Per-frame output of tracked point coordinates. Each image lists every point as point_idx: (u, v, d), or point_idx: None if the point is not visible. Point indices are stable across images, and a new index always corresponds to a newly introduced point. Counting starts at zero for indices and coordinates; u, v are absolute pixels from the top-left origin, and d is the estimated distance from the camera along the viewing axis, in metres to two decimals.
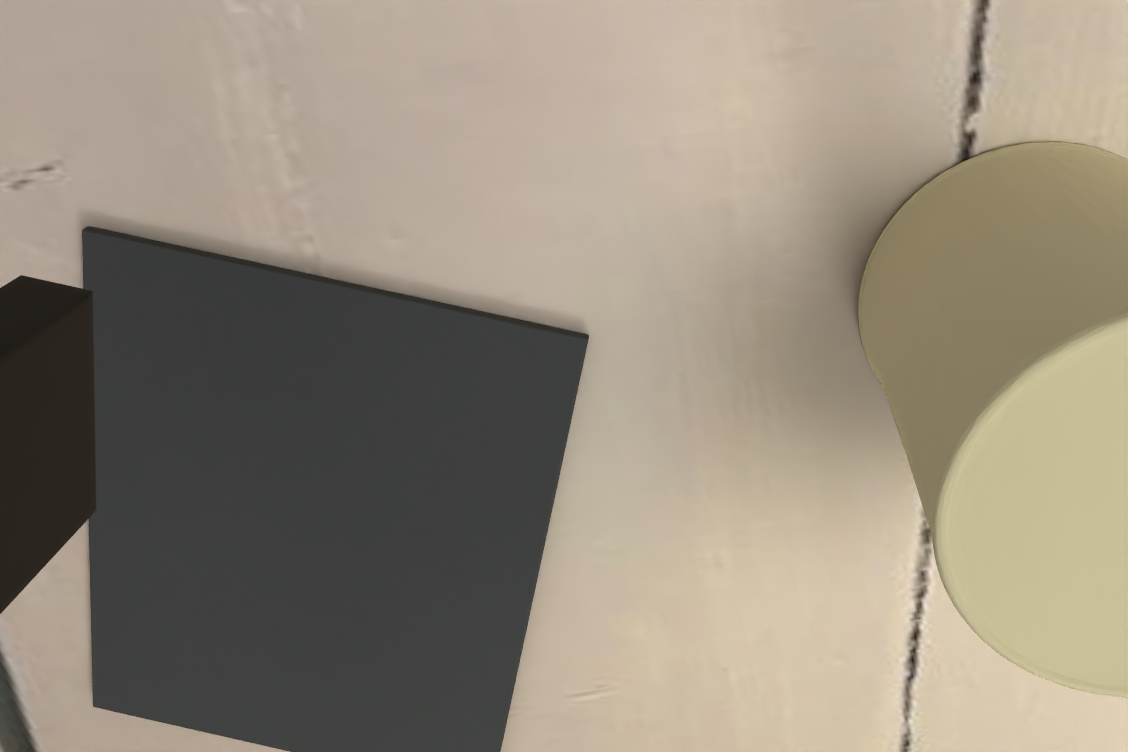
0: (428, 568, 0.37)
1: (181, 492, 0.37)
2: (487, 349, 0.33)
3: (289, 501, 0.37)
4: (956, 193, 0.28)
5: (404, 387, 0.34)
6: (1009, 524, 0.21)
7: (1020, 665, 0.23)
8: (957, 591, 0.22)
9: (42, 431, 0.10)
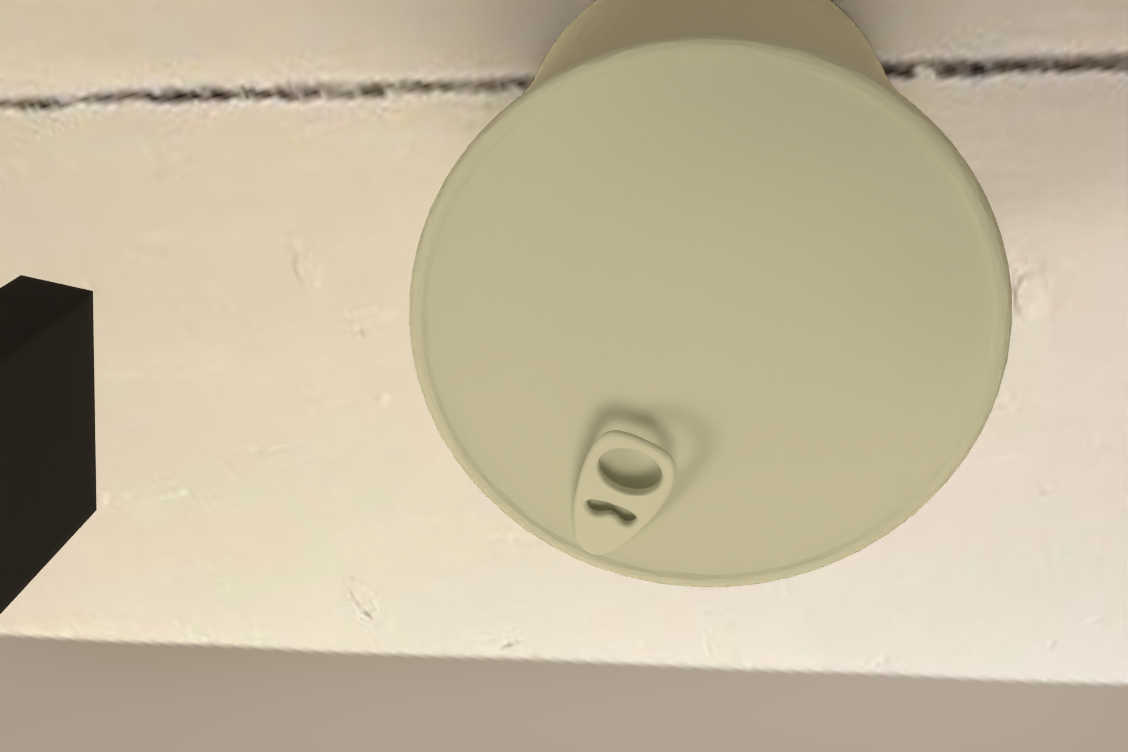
0: None
1: None
2: None
3: None
4: None
5: None
6: (681, 143, 0.15)
7: (444, 192, 0.16)
8: (566, 86, 0.15)
9: (42, 431, 0.10)
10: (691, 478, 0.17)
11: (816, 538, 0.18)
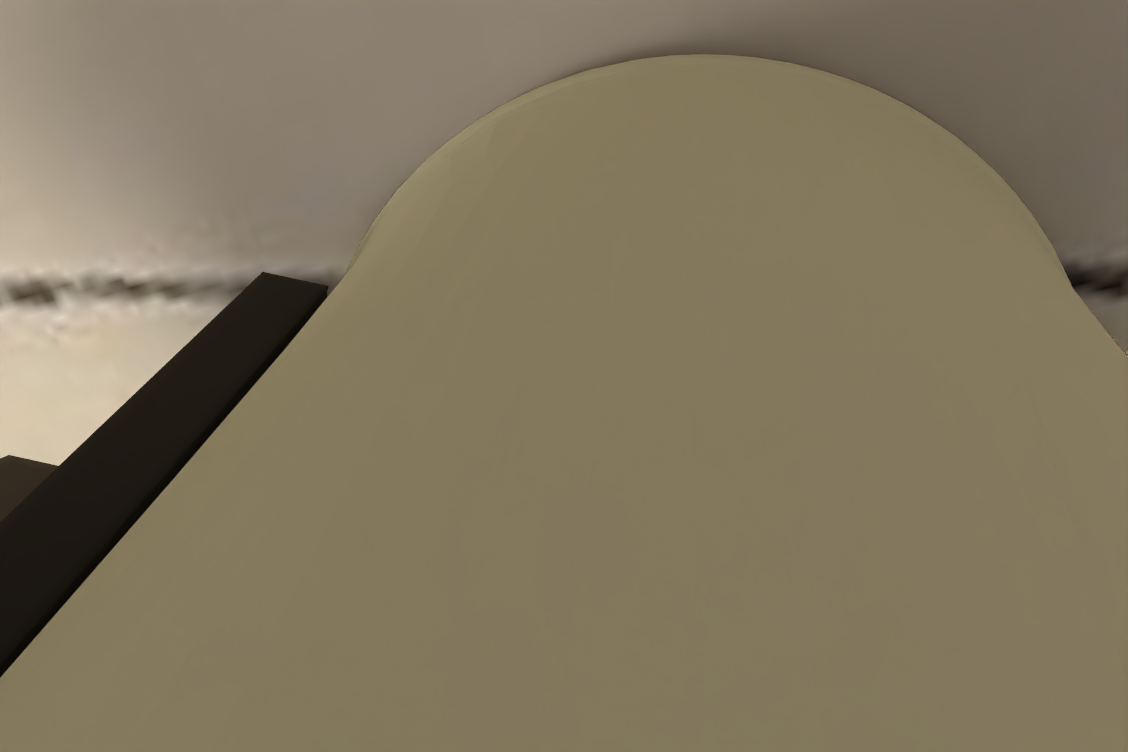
0: None
1: None
2: None
3: None
4: None
5: None
6: None
7: None
8: None
9: None
10: None
11: None
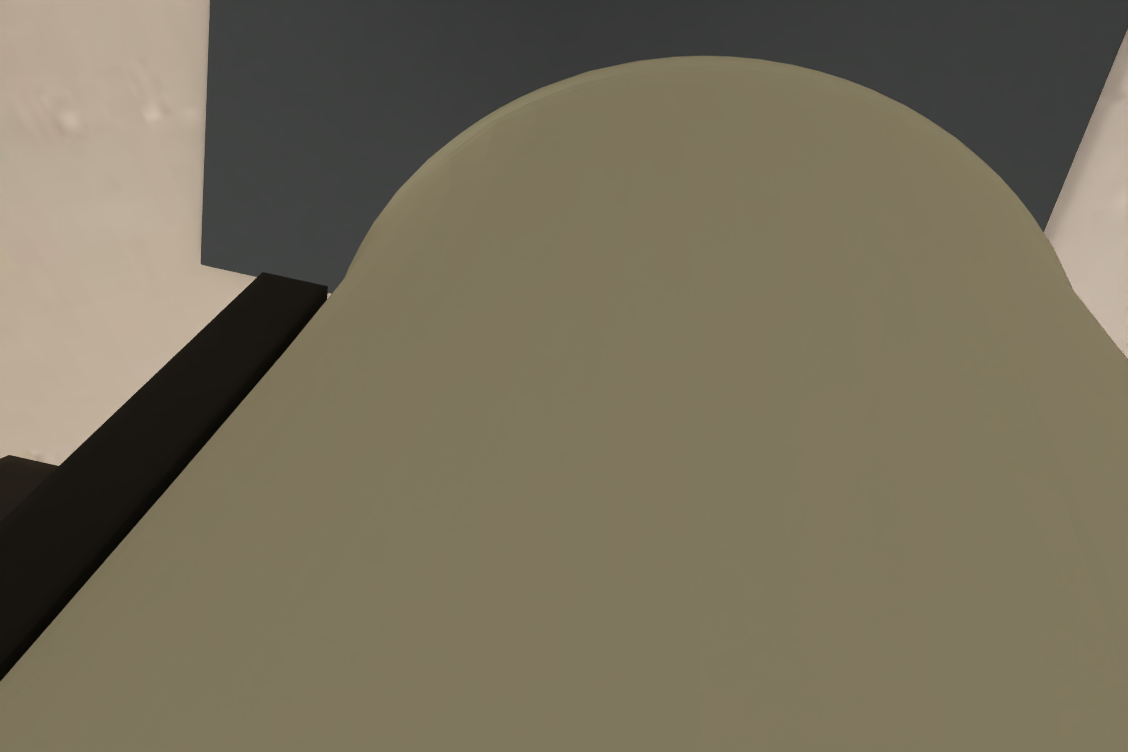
0: None
1: None
2: None
3: (729, 8, 0.24)
4: None
5: None
6: None
7: None
8: None
9: None
10: None
11: None
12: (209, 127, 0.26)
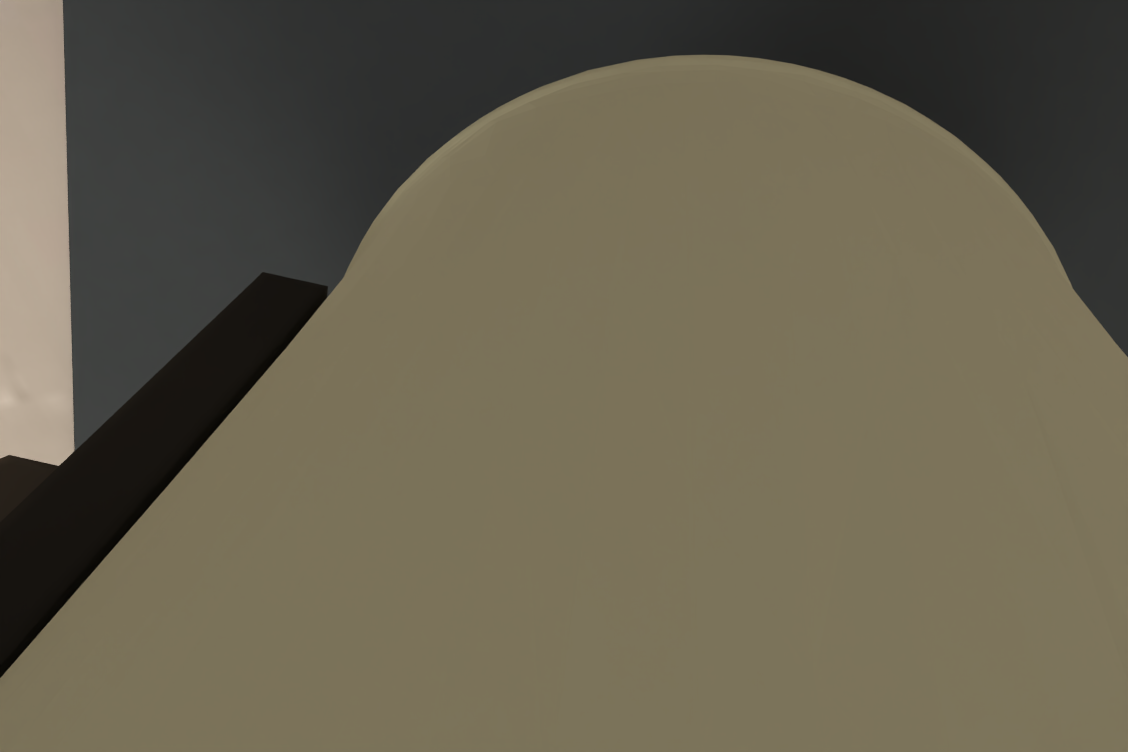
0: None
1: (851, 31, 0.14)
2: None
3: None
4: None
5: None
6: None
7: None
8: None
9: None
10: None
11: None
12: (79, 425, 0.19)
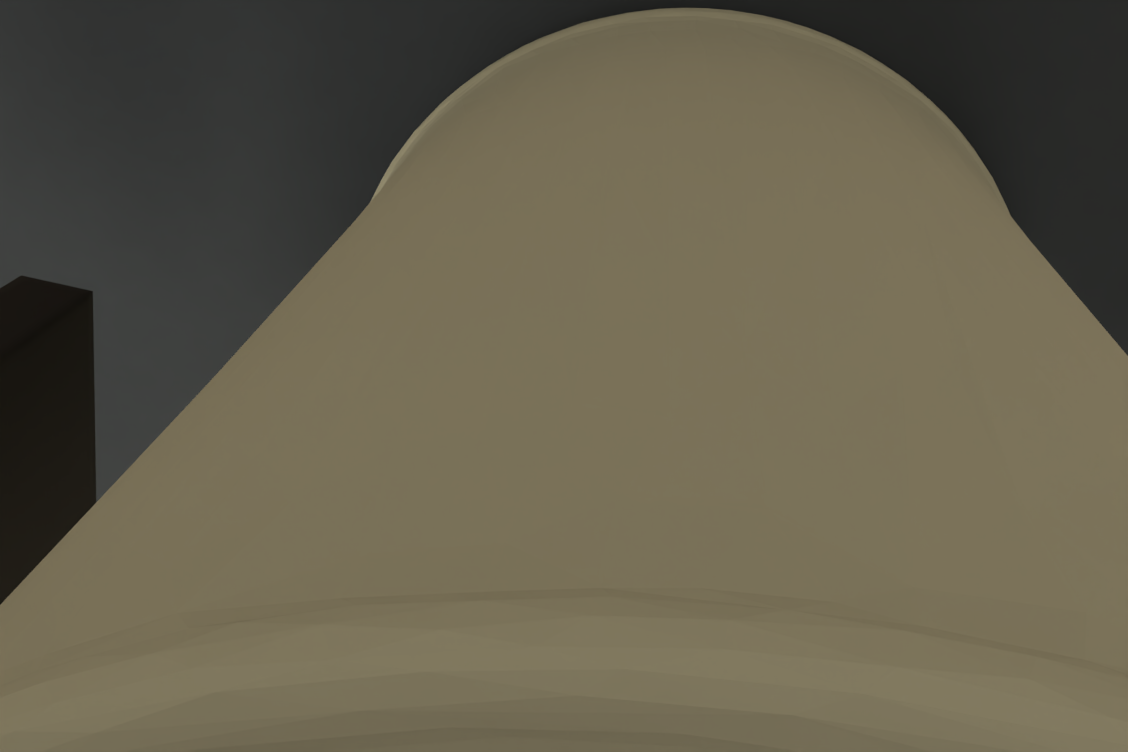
0: None
1: (849, 28, 0.13)
2: None
3: None
4: None
5: None
6: None
7: None
8: None
9: (42, 431, 0.10)
10: None
11: None
12: None
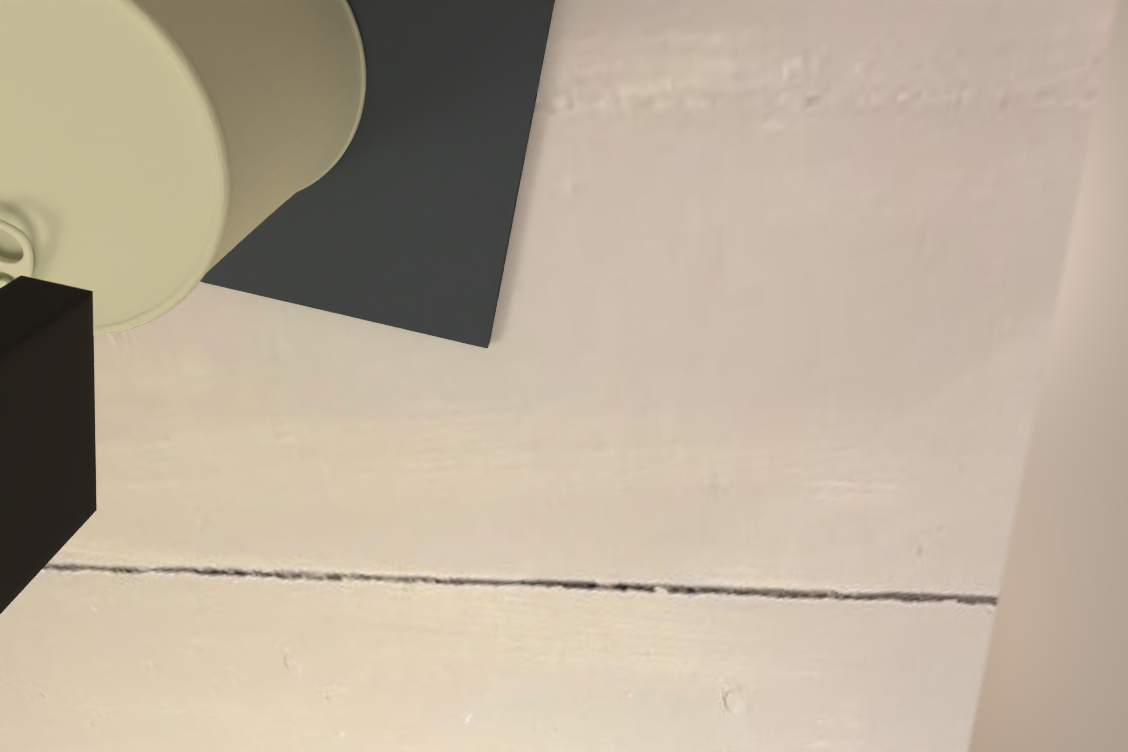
0: None
1: None
2: (471, 265, 0.37)
3: None
4: None
5: (427, 185, 0.36)
6: None
7: None
8: None
9: (42, 431, 0.10)
10: (54, 254, 0.26)
11: (144, 297, 0.26)
12: None
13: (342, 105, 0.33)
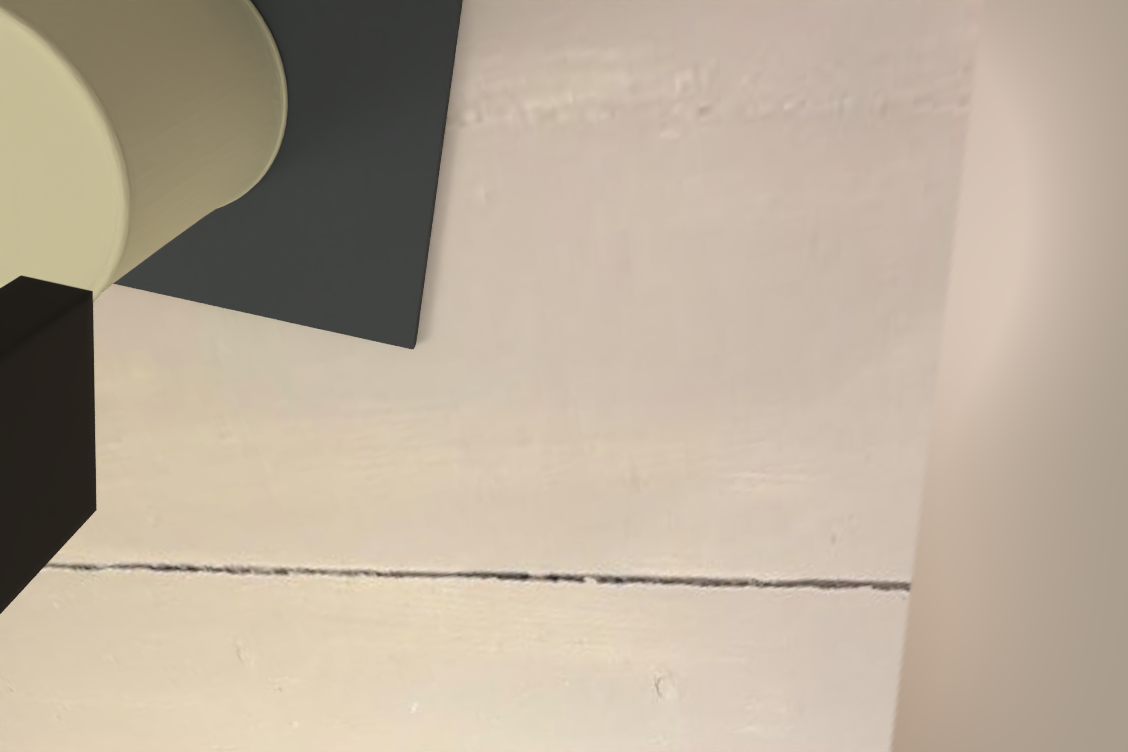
0: None
1: None
2: (394, 271, 0.39)
3: None
4: (227, 8, 0.34)
5: (349, 196, 0.38)
6: None
7: None
8: None
9: (42, 431, 0.10)
10: None
11: None
12: None
13: (261, 121, 0.35)
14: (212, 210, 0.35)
